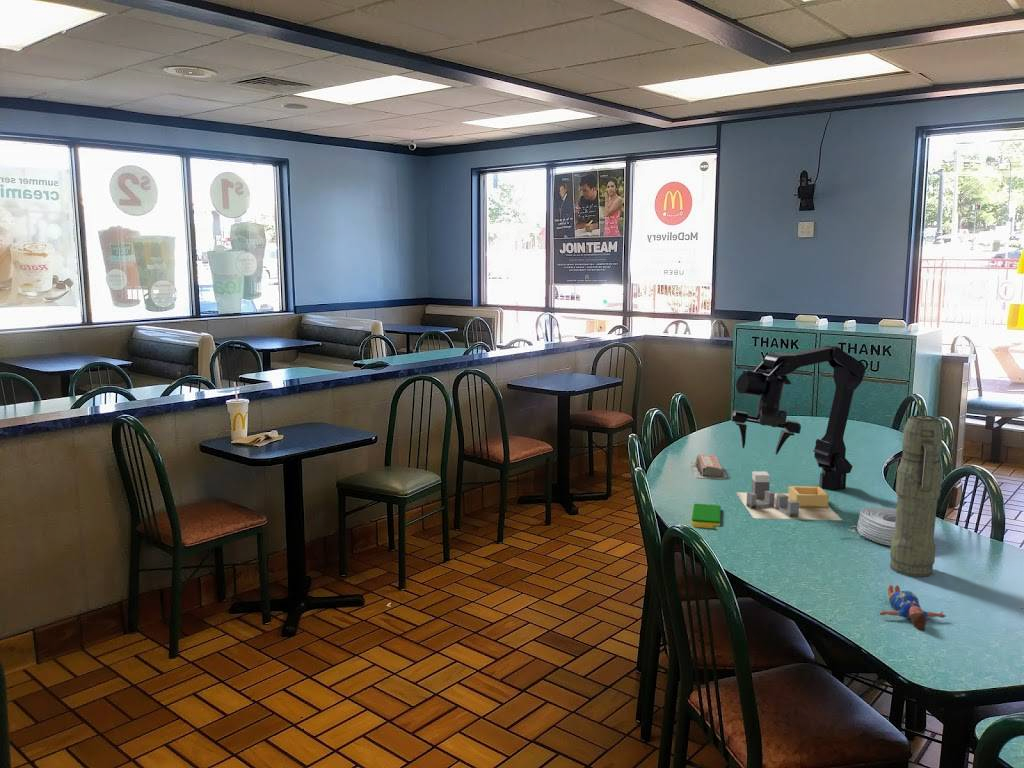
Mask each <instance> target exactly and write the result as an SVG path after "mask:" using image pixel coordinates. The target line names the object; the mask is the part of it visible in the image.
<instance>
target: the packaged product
mask: <svg viewBox="0 0 1024 768" xmlns="http://www.w3.org/2000/svg"><path fill="white" fill-rule="evenodd" d="M690 467H691V471H692V470H693V471H692V474H693V477H694V476H695V478H696V479H704V480H705V479H706V480H709V479H710V480H711V479H712V480H725V479H729V478H728V476H727V474H726V472H725V470H724V469H723V467H722V464H721V462H720V461H719V458H718V456H715V455H713V454H697V455H696V460H695V462H690Z"/></svg>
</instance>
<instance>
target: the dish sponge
mask: <svg viewBox="0 0 1024 768" xmlns="http://www.w3.org/2000/svg"><path fill="white" fill-rule="evenodd" d="M721 509H722V507H721V505H719V504H718V505H717V504H705V503H703V504H702V503H694V504H693V510H692V515H691V516H692V517H691V527H693V528H694V527H695V528H705V529H717V530H718V528H717V527H718V526H720V525H721V511H722V510H721ZM716 526H717V527H716Z"/></svg>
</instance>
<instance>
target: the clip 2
mask: <svg viewBox="0 0 1024 768" xmlns="http://www.w3.org/2000/svg"><path fill="white" fill-rule="evenodd" d="M776 509H777V510H778V511H780V512H782V513H783V514H785V515H787V516H788V517H798V515H799V502H798V501H788V496H787V495H777V502H776Z"/></svg>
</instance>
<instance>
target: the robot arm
mask: <svg viewBox="0 0 1024 768" xmlns="http://www.w3.org/2000/svg"><path fill="white" fill-rule="evenodd" d="M825 362H827V364H828V366H830V367H831V368H832V369H833V381H834V385H835V389H834V390H835V391H834V396H833V400H832V404H831V408H830V413H829V418H828V422H827V426H826V431H825V434H824V436H823V437H822V438H821V439H820V438H816V440H815V445H814V446H815V447H814V449H813V453H814V458H815V460H816V463H817V466H818V467H819V468H821V472H820V473H819V479H818V480H819V484H818V487H820V488H821V489H822V490H830V491H843V490H846V487H847V475H848V474H850V473H851V472H852V469H853V465H852V463H850V462H849V460H848V459H847V458H846V454H847V453H846V452H847V447H846V445H845V441H844V435H845V432H846V427H847V422H848V418H849V414H850V410H851V405H852V400H853V396H854V392H855V391H856V390H857V388H858V387H859V386H860V385H861V383H862V382H863V379H864V376H865V373H866V371H867V370H866V369H867V368H866V366H865V364H864V362H862V361H861V360H857V359H856V357H855V358H854V357H853V356H851V355H850V354H848V353H847V352H846V351H844V350H843V349H842V348H840V346H838V345H837V346H836V345H831V344H826V345H824V346H821V347H817V348H812V349H807V350H802V351H798V352H793V353H790V352H789V353H787V352H786V353H785V352H782V353H781V352H771V353H768V354H766V355H765V357H764V360H763V361H762V362H761V363H760V364H759V365H758V366H757V367H756V368H755V369H754V371H752V370H749V369H743V371H742V372H743V373H741V374H740V375H739V376H738V378H737V380H736V382H735V383H736V384H735V387H736V391H737V393H739V394H741V395H748V396H755V397H759V400H758V404H757V409H756V415H755V416H754V415H749V414H748V412H745V411H741V410H735V409H734V410H733V411H732V412H731V416H730V417H731V418H730V420H731V422H734V424H735V426H738V429H739V432H740V438H741V446H742V449H745V446H746V440H747V439H746V437H747V436H746V435H747V427H748V425H747V422H749V423H752V424H753V423H754V424H759V425H761V426H764V427H765V426H768V427H772V428H781V430H780V434H779V438H778V441H777V444H776V447H775V455H778V454H779V452H780V450H781V449H782V447H783V445H784V444H785V442H786V441H787V440H788V438H790V437H791V436H793V437H794V436H795V434H798V435H799V434H800V433H801V429H802V425H801V423H799V422H798V421H796V420H789V419H787V417H788V411H786V410H780V406H781V400H782V395H783V391H784V386H785V385H791V384H792V382H791V381H790V379H789V378H788V376H787V375H789V374H792V373H794V372H795V371H797V370H798V369H799V368H802V367H807V366H811V365H816V364H821V363H825Z"/></svg>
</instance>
